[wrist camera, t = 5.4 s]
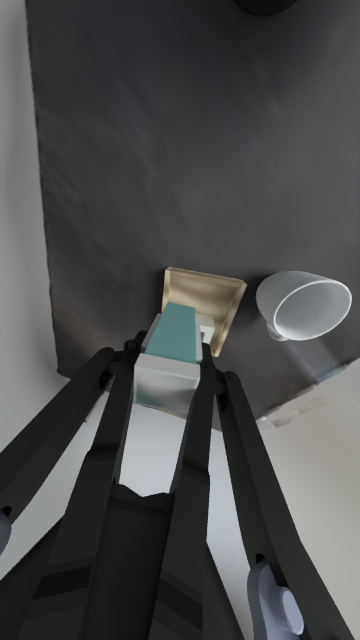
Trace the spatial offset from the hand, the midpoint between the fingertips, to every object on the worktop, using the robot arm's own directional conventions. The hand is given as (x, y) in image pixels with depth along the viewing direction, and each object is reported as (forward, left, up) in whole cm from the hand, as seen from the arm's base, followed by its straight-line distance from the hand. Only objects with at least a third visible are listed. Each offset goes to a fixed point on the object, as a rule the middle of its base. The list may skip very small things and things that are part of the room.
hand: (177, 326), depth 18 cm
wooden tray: (+7, +4, -20) cm, 21 cm away
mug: (-2, +21, -20) cm, 29 cm away
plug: (0, 0, -3) cm, 3 cm away
